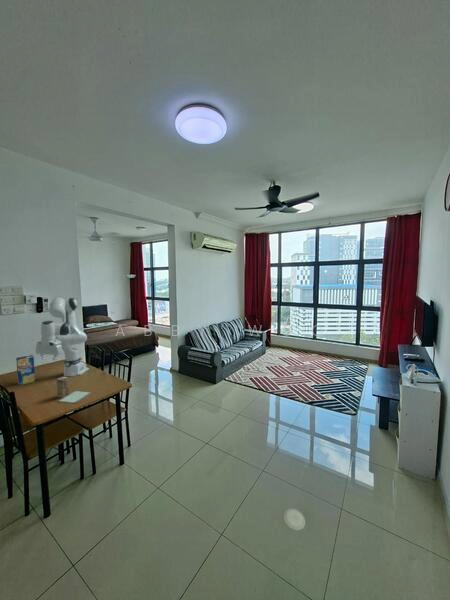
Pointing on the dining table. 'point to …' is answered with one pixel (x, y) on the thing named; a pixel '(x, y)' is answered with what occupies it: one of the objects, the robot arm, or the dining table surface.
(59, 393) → the block
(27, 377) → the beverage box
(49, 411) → the dining table surface
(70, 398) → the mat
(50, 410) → the dining table surface
